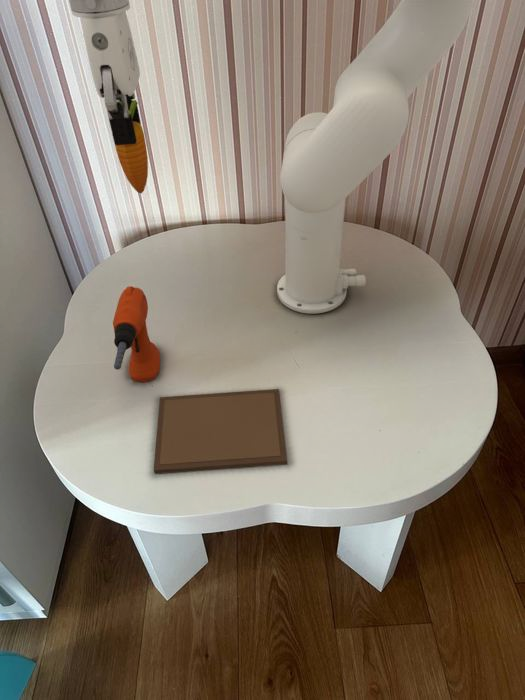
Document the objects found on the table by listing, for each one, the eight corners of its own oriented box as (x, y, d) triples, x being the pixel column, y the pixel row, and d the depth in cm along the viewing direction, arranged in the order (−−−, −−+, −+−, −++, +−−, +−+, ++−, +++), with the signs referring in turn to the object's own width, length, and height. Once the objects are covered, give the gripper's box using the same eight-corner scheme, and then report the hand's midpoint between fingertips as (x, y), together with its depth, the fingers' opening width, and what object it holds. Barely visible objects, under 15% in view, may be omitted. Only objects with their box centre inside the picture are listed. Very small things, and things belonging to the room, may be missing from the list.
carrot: (159, 185, 94) (141, 92, 83) (151, 201, 90) (132, 105, 80) (130, 185, 94) (109, 92, 84) (121, 200, 91) (98, 105, 80)
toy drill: (116, 435, 79) (92, 351, 70) (133, 354, 94) (115, 275, 85) (151, 433, 79) (132, 348, 70) (162, 352, 94) (148, 273, 85)
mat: (278, 392, 86) (278, 388, 85) (286, 464, 77) (286, 460, 76) (160, 400, 86) (159, 396, 85) (154, 473, 76) (153, 469, 76)
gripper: (118, 13, 67) (147, 159, 79) (135, -20, 79) (158, 111, 91) (54, 17, 67) (94, 163, 79) (81, -17, 79) (112, 114, 92)
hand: (128, 134), depth 85 cm, fingers closed on carrot, 4 cm apart
